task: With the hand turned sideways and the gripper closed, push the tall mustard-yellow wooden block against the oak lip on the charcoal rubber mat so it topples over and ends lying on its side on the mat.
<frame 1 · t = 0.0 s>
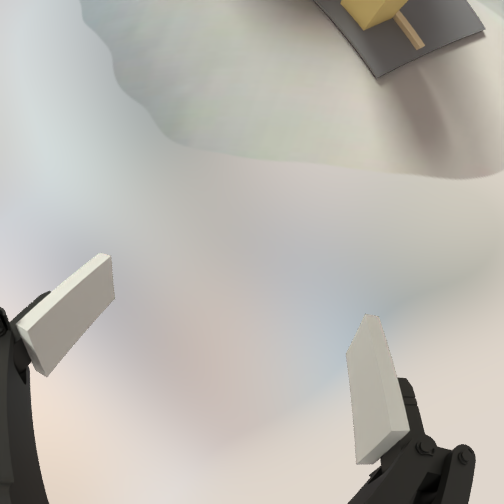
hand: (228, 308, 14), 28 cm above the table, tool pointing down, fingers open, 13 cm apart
mustard block: (366, 10, 25), point 1 cm above the table, touching tipping mat
tipping mat: (390, 2, 24), on the table
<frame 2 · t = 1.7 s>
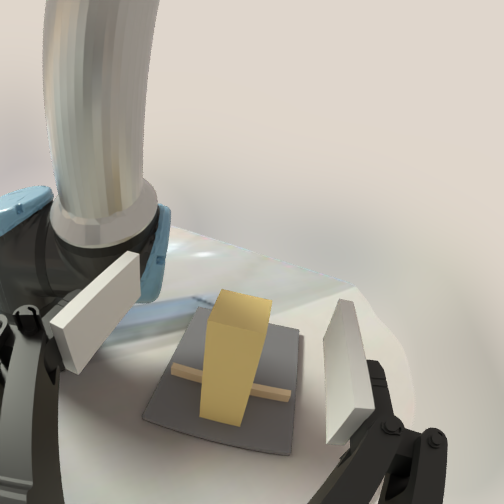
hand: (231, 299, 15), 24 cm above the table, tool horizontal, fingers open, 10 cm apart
mustard block: (223, 406, 33), point 1 cm above the table, touching tipping mat
tipping mat: (231, 382, 37), on the table
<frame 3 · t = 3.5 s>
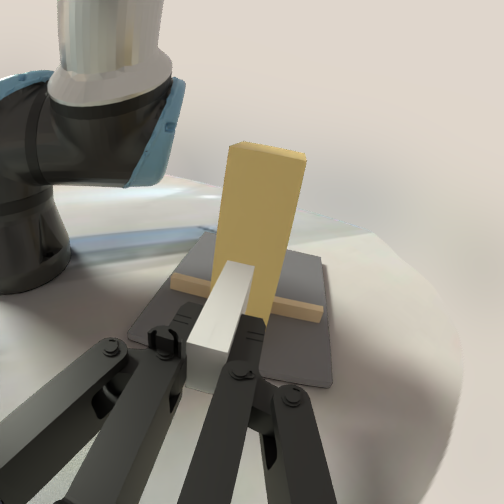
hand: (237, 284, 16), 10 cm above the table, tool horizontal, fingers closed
mustard block: (238, 324, 27), point 1 cm above the table, touching tipping mat
tipping mat: (245, 301, 32), on the table
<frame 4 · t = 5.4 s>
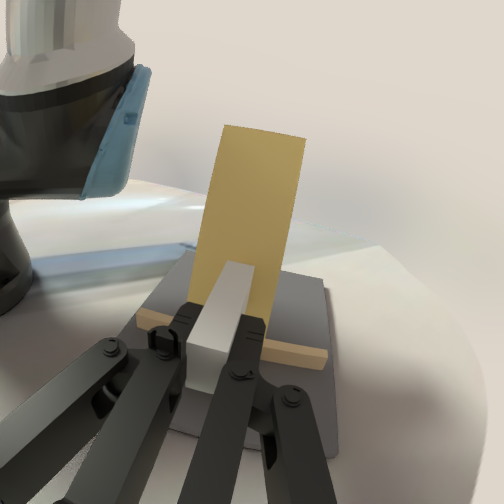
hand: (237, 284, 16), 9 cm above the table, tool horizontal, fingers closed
mustard block: (219, 369, 20), point 2 cm above the table, tilted 22°, touching gripper, tipping mat
tipping mat: (230, 342, 25), on the table
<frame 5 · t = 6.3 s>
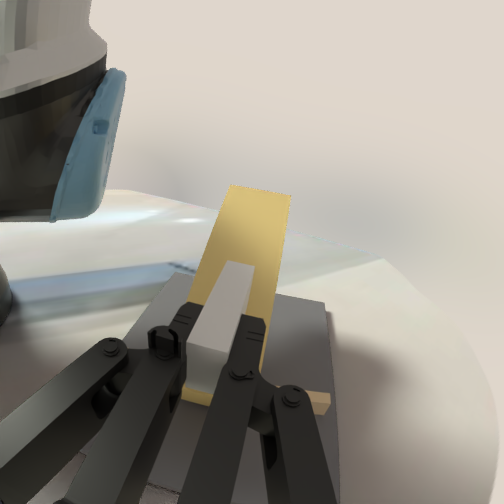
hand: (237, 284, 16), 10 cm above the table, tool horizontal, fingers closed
mustard block: (208, 401, 15), point 4 cm above the table, tilted 62°, touching gripper, tipping mat
tipping mat: (221, 383, 21), on the table
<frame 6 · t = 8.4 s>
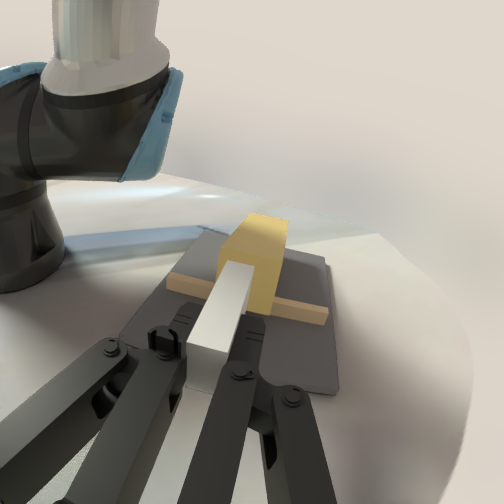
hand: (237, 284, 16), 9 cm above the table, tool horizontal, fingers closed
mustard block: (245, 282, 24), point 5 cm above the table, tilted 97°, touching tipping mat
tipping mat: (246, 303, 30), on the table
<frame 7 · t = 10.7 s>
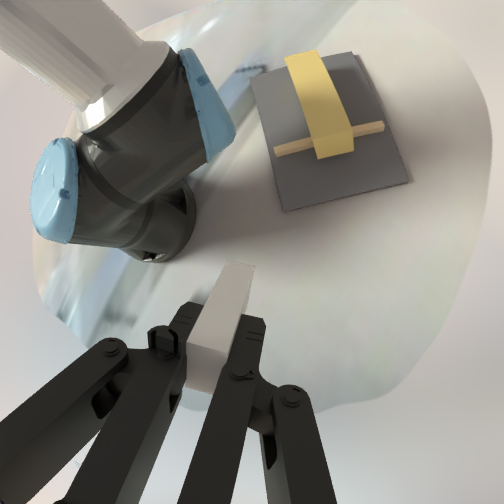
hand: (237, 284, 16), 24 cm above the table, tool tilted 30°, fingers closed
mustard block: (334, 145, 33), point 5 cm above the table, tilted 97°, touching tipping mat
tipping mat: (327, 132, 39), on the table
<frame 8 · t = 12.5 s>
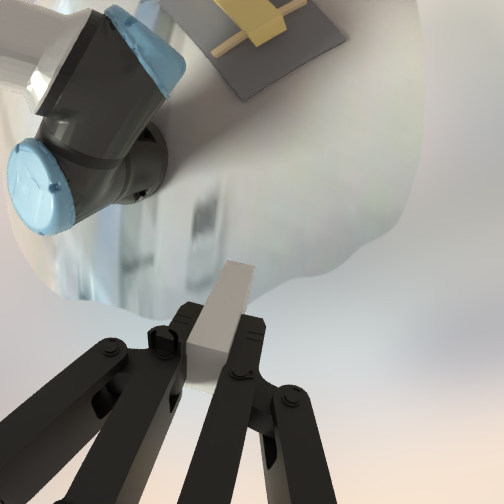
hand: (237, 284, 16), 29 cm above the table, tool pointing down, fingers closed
mustard block: (268, 31, 29), point 5 cm above the table, tilted 97°, touching tipping mat
tipping mat: (254, 21, 32), on the table
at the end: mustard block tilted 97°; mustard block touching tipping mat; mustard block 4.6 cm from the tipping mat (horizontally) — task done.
